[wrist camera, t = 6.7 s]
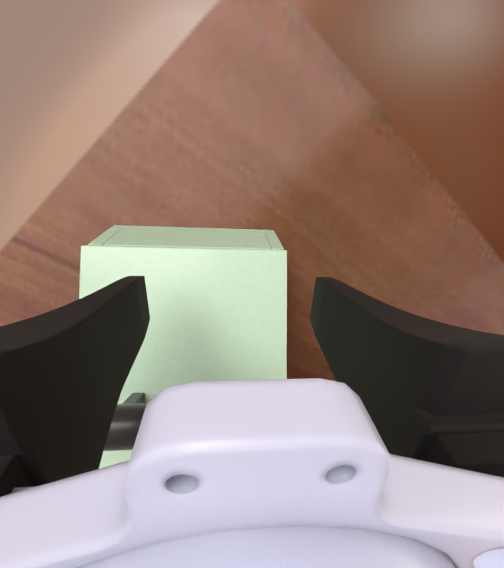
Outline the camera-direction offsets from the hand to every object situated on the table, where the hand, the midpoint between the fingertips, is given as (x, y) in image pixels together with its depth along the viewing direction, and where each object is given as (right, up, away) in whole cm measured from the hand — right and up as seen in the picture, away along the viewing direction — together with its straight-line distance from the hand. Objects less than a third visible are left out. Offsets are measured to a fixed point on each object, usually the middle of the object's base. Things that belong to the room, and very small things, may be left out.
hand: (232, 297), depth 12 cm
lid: (-3, -4, +5) cm, 7 cm away
